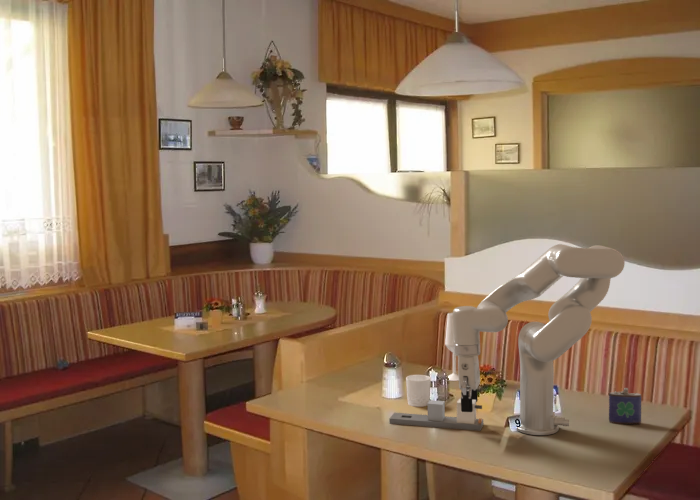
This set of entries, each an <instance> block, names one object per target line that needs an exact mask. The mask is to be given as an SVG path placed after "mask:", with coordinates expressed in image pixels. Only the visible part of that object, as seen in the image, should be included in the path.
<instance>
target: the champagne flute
mask: <svg viewBox="0 0 700 500" xmlns="http://www.w3.org/2000/svg"><path fill="white" fill-rule="evenodd" d="M446 315H447V316H446V326H445V327H446V328H445V340H444V345H445V347H446V348H447V349H448V350H449V351H450V352H451V353H452V373H450V374H449V375H447V376H448V378H449V380H448V381H452V382H453V381H454V382H455V381H456V382H457V381H458V382H459V376H458V373H457V356H456V355H454V335H453V312H448V313H447V314H446Z"/></svg>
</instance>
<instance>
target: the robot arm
mask: <svg viewBox="0 0 700 500" xmlns="http://www.w3.org/2000/svg"><path fill="white" fill-rule="evenodd" d="M624 268H625V259H624V256H623V255H622V252H620V251H618V250H617V249H614V248H612V247H608V246H605V245H598V244H597V245H595V244H594V245H592V246H590V247H577V246H569V245H567V244H560V243H559V244H555V245H553V246H551V247H550V248H549V249H547V250H546V251H545V252H544V253H542V255H540V256H539V257H538V258H537V259H535V261H533V262H531V264H530V265H528V267H526V268H525V269H523V271H521V272H520V273H519V274H518V275H515V277H513V278H511V279H510V280H508V281H506V282H505V283H503V284H502V285H500V286H499V287H497V288H496V289H494V290H493V291H492V292H491V293H490V294H489V295H487V296H486V297H485V298H484V299H483V300H481V302H480V303H479V304H478V305H477V306H473V305H463V306H462V305H460V306H456V307H454V309H453V310H452V313H453V335H454V355H456V357H457V364H458V365H457V366H458V367H457V369H458V370H457V372H458V373H457V374H458V376H459V381H458V388H459V390H461V393H460V399H461V411H462V412H472V411H473V406H472V400H476V403H477V402H478V400H479V399H478V388H479V385H480V383H481V375H480V374H481V373H480V364H479V363H480V361H479V356H480V355H481V336H480V333H481V332H482V333H499V332H501V331H503V330H505V328H506V327H507V326H508V322H509V319H508V314H507V312H508V311H510V310H511V309H513V308H514V307H515V306H517V305H518V304H521V303H523V302H527V301H531V300H534V299H536V298H537V299H538V298H539V297H540V296H542V295H543V294H544V293H546V291H548V290H549V289H550V288H551V287H552V286H554V285H555V283H557V282H558V281H559V280H561V278H563V277H566V278H578V279H579V280H578V281H577V282H576V284H574V286H572V287H571V288H570V289H569V290H568V291H567V292H566V293H564V295H562V296H561V297H560V298H558V299H557V300H556V301H555V302H554V303H552V304H551V306H550V308H549V310H548V322H547V323H546V324H545V323H543V322H540V321H530V322H528V323H526V324H524V326H522V328H521V329H520V330H519V333H518V339H517V340H518V341H517V342H518V343H517V344H518V353H519V367H520V369H519V370H520V371H519V372H520V373H519V375H520V376H519V420H520V419H521V425H522V426H521V427H517V430H516V431H518V432H520V433H523V434H526V435H532V436H547V435H548V436H549V435H553V434H556V433H557V432H559V429H560V428H559V427H560V426H563V427H569V426H570V419H566V417H560V416H559V417H558V416H557V415H556V412H555V411H554V377H555V376H554V375H555V373H554V371H555V369H554V368H555V367H554V361H555V360H557V359H559V358H560V357H561V356H562V355H564V354H565V353H566V352H567V351H569V350H570V348H572V347H573V346H574V345H575V344H576V343H578V342H579V341H580V340H581V339H582V338H583V337H584V336H585V335H586V334H587V332H588V331H589V329H590V328H591V325H592V321H593V320H592V319H593V318H592V313H591V312H592V311H593V310H594V309H595V308H596V307H597V306H598V305H599V304H601V302H602V301H603V300H604V298H606V296H607V295H608V292H609V289H610V285H611V279H613V278H616V277H618V276H619V275H620V274H621V273H622V272H623V271H624Z"/></svg>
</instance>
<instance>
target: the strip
mask: <svg viewBox="0 0 700 500" xmlns="http://www.w3.org/2000/svg"><path fill="white" fill-rule="evenodd" d="M389 424H391V425H401V426H402V425H403V426H404V425H405V426H414V427H415V426H418V427H428V428H429V427H430V428H440V429H451V430H452V429H453V430H468V431H477V432H478V431H482V428H483V426H484V419H483V418H476V421H475V423H474V424H469V423H457V416H448V415H447V416H446V415H445V418H444V420H443V421H432V420H428V414H420V413H419V414H418V413H407V412H405V413H404V412H393V413H392V415H391V416H390V417H389Z"/></svg>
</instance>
